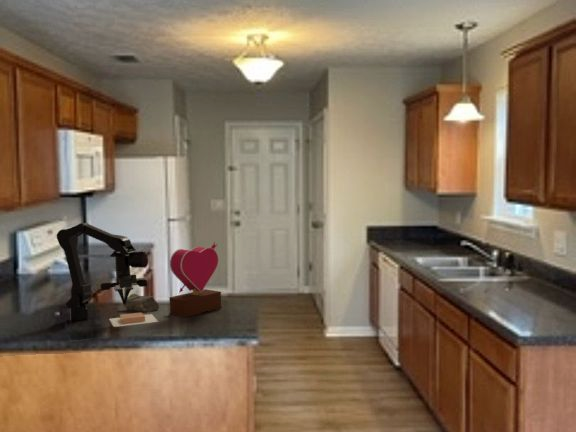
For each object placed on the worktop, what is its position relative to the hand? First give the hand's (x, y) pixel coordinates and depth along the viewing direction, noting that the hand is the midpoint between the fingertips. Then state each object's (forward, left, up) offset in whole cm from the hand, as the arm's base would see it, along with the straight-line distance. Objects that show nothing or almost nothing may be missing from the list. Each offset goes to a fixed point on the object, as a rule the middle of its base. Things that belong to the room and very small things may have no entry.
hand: (124, 304), depth 252 cm
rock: (+10, +18, -8) cm, 22 cm away
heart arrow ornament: (+33, +7, -8) cm, 35 cm away
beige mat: (+3, 0, -8) cm, 8 cm away
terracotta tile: (-1, 0, -6) cm, 6 cm away
